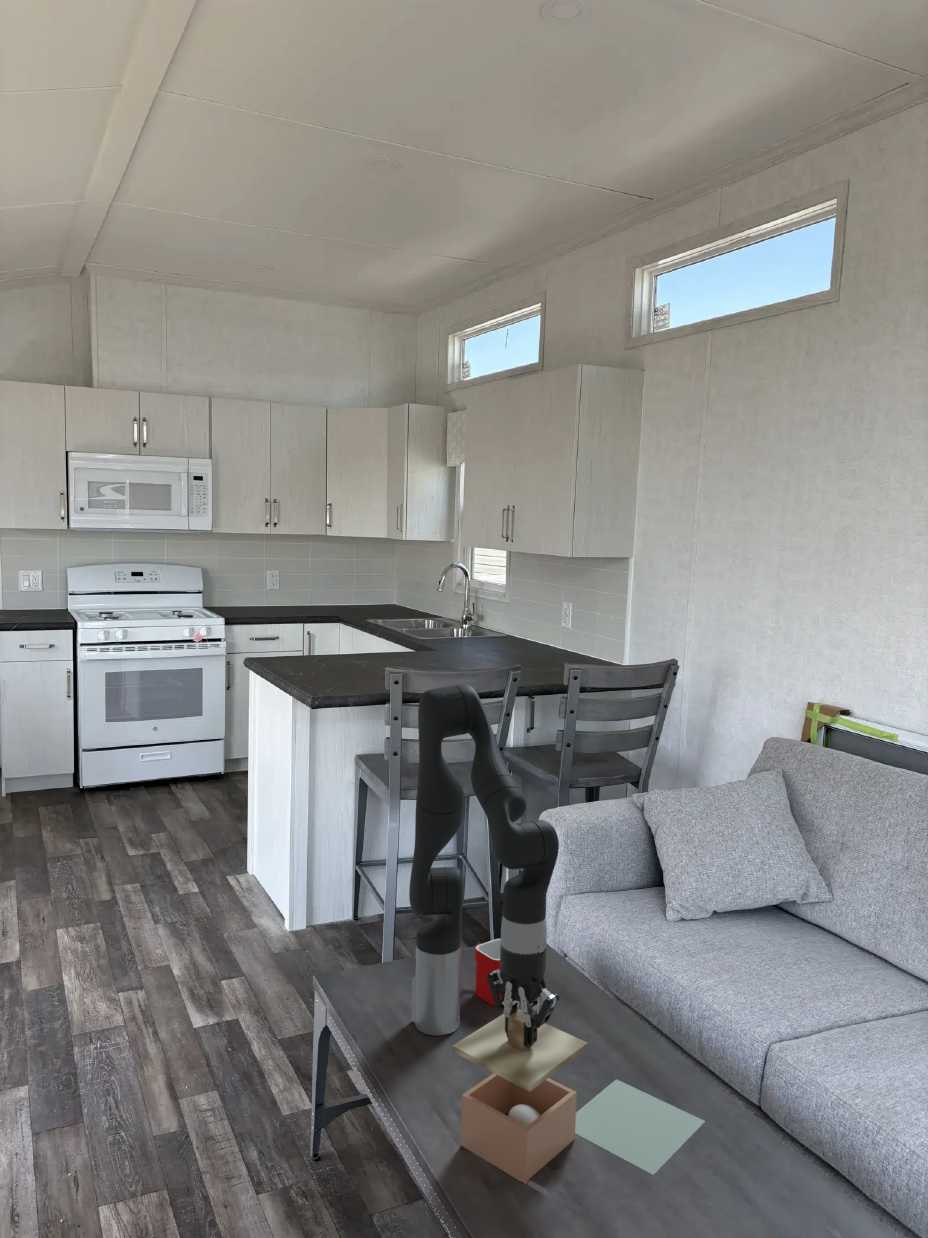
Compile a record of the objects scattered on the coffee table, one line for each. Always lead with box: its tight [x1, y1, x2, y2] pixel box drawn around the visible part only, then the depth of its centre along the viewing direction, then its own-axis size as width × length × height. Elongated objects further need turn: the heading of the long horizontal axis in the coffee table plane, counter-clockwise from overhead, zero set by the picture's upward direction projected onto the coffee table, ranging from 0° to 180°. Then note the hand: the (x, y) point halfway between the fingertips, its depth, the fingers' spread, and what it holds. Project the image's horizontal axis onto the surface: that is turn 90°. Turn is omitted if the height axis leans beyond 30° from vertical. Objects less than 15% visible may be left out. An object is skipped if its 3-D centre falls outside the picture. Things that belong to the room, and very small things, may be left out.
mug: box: [474, 938, 502, 1007], centre depth 206 cm, size 12×8×11 cm
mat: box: [575, 1079, 706, 1176], centre depth 162 cm, size 18×18×1 cm
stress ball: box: [507, 1104, 541, 1127], centre depth 158 cm, size 8×8×7 cm
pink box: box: [460, 1072, 578, 1185], centre depth 156 cm, size 14×14×9 cm
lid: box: [451, 1008, 589, 1092], centre depth 155 cm, size 16×16×6 cm
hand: (520, 1040), depth 155 cm, fingers closed on lid, 3 cm apart
